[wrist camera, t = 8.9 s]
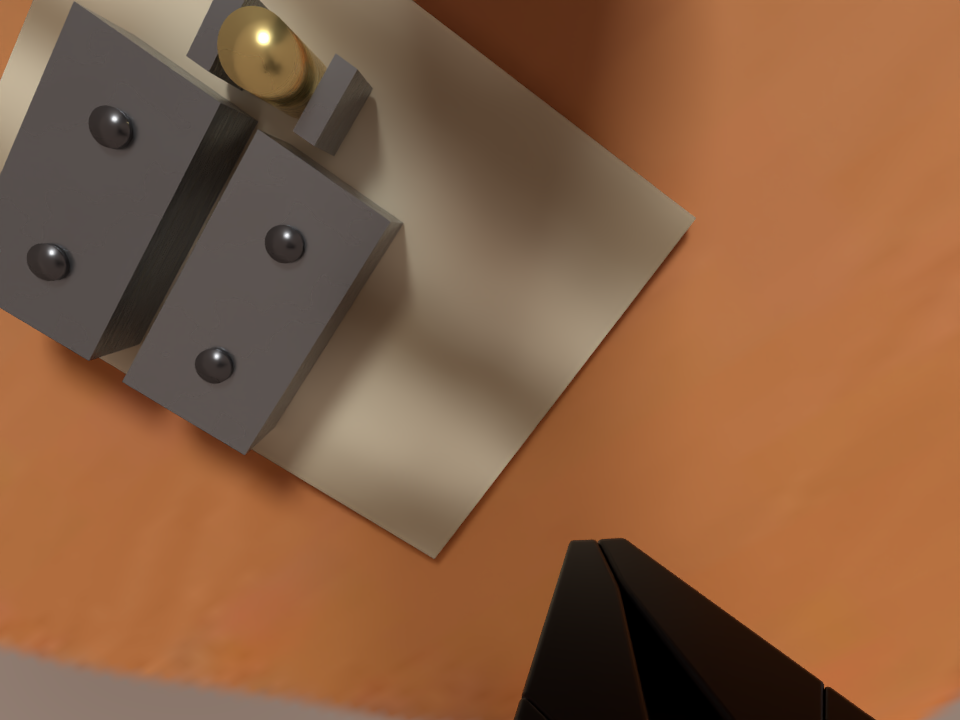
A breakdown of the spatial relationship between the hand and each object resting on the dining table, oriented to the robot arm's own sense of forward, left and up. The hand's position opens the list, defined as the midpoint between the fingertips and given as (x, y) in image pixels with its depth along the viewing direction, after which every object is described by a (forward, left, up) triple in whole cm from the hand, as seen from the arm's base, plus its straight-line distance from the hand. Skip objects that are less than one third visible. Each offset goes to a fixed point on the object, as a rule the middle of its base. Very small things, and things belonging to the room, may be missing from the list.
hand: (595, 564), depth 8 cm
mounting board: (0, -9, -11) cm, 15 cm away
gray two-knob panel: (+1, -9, -11) cm, 14 cm away
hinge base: (+1, -14, -11) cm, 18 cm away
